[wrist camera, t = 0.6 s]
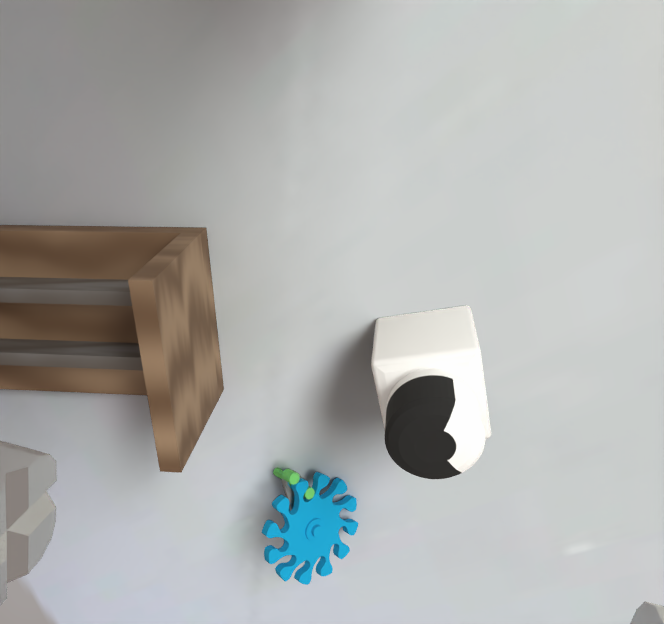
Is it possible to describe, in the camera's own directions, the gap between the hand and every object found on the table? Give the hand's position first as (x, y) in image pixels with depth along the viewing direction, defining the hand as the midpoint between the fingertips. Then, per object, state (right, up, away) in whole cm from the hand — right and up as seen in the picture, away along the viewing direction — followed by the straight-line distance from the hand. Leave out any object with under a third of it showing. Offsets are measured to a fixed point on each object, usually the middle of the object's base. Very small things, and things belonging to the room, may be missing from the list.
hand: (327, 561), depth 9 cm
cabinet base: (-23, +4, +45) cm, 51 cm away
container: (+8, 0, +43) cm, 44 cm away
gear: (-2, -14, +51) cm, 53 cm away
